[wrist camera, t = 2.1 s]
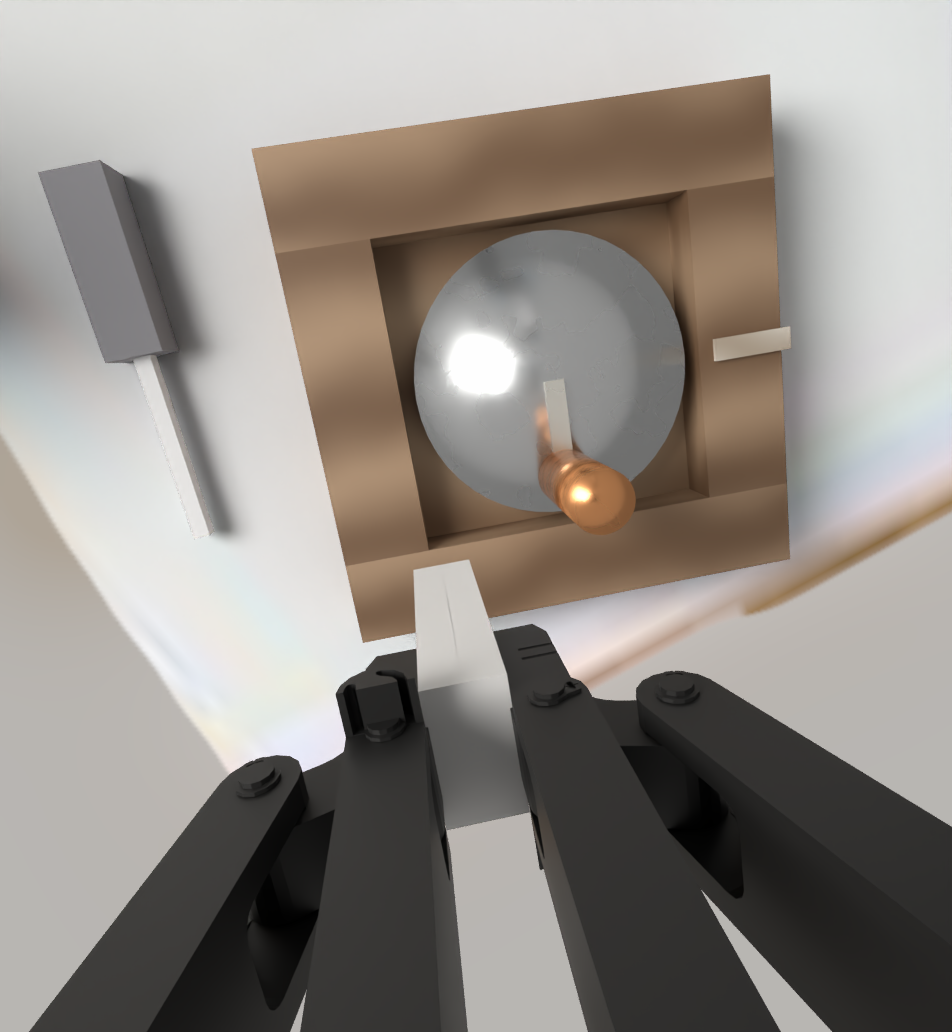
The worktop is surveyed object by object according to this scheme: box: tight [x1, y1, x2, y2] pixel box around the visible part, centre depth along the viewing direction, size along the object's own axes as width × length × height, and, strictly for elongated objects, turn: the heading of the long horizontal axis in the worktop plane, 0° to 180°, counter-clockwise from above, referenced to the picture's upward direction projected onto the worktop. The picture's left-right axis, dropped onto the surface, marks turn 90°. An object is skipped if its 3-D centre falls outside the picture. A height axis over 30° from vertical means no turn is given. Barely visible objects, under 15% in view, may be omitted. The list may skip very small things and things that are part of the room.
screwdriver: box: [38, 160, 214, 539], centre depth 30 cm, size 17×3×2 cm, turn 12°
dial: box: [414, 230, 685, 535], centre depth 27 cm, size 13×13×8 cm
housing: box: [252, 74, 791, 643], centre depth 31 cm, size 22×22×5 cm
